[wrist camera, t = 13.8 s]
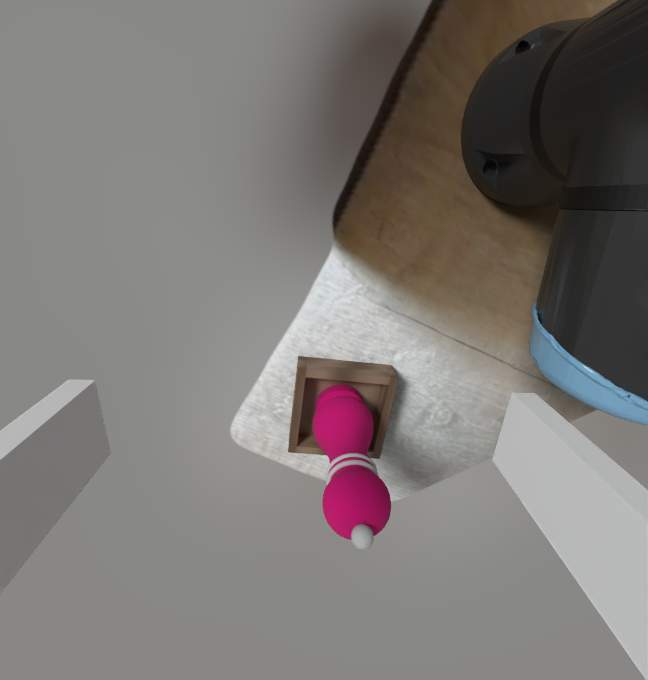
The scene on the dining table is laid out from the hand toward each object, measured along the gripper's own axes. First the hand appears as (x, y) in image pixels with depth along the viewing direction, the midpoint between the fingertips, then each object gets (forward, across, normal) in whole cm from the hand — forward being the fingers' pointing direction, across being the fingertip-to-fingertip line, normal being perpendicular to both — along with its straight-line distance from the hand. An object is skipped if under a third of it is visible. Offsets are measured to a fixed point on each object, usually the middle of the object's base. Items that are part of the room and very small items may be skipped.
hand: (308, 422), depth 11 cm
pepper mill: (+29, +5, -18) cm, 35 cm away
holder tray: (+30, +5, -18) cm, 35 cm away
